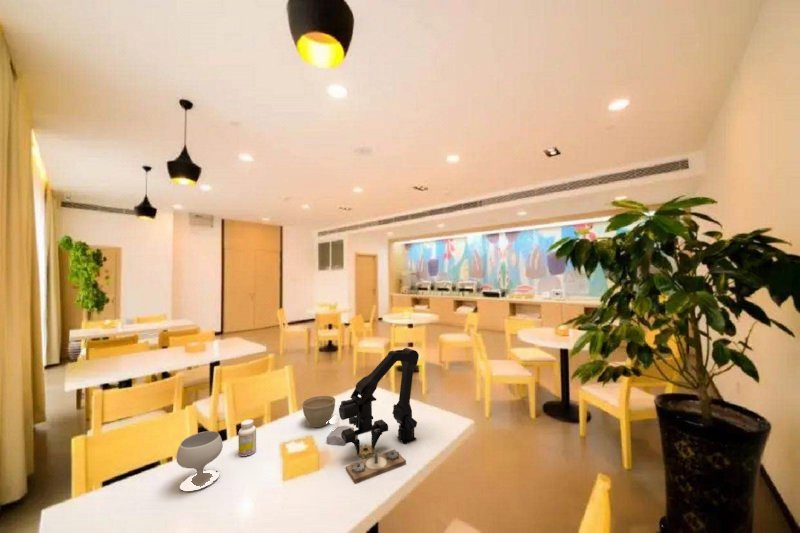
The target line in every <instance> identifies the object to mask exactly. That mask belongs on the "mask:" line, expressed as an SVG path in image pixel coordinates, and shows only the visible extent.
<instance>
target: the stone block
mask: <svg viewBox="0 0 800 533" xmlns="http://www.w3.org/2000/svg"><path fill="white" fill-rule="evenodd" d="M336 427H337V428H336ZM336 427H335V428H336V429H335V430H334V429H333V430H334V431H332V430H331V432H329V434H328V435H327V436H326V443H327V445H330V446H346V444H347V443H345V441H344V440H343V439H342V438H341V433H342V431H343V430H346V429H349V428H351V429H352V430H353V431H355V429H354V426H350V425H349V426H348V425H339V426H336Z"/></svg>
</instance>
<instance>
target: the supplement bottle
mask: <svg viewBox="0 0 800 533" xmlns="http://www.w3.org/2000/svg"><path fill="white" fill-rule="evenodd" d="M240 426H241V428H240V429H239V431H238V435H237V436H238V456H239V455H241V456H247V455H250V456H252V455H253V453H254V452H255V453H256V451H257V427H256V426H255V425H254V419H245V420H243V421H242V422H241V423H240ZM255 453H254V454H255ZM251 454H252V455H251ZM241 456H240V457H241ZM247 457H248V456H247Z"/></svg>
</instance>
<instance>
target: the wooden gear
mask: <svg viewBox="0 0 800 533" xmlns="http://www.w3.org/2000/svg"><path fill="white" fill-rule="evenodd" d="M375 450H376V448H372V447H371V444H370V445H367V444H364V445H362V446H360V453H358V454H357V451H356V450H355V452H356V453H355V454H356V455H355V456H356V457H358V460H361V459H363V460H365V459H368V458H371V457H374V452H376V451H375Z"/></svg>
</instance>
